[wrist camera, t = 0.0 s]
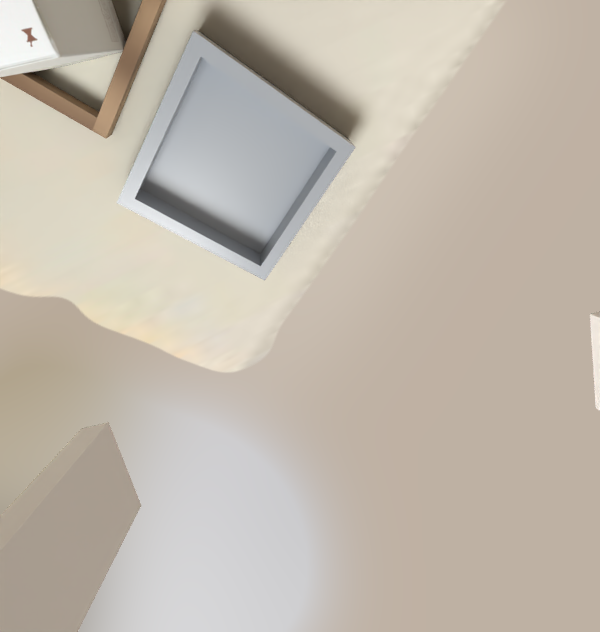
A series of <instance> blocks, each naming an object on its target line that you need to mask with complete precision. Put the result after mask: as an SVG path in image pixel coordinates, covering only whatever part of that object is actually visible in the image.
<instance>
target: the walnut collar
mask: <svg viewBox="0 0 600 632" xmlns="http://www.w3.org/2000/svg"><path fill="white" fill-rule="evenodd" d="M165 3H166V0H142V3H141V5H140V8H139V10H138V13H137V16H136V18H135V21H134V23H133V26H132V29H131V31H130V34H129V36H128V39H127V42H126V44H125V47H124V49H123V52H122V55H121V57H120V60H119V62H118V65H117V68H116V70H115V73H114V75H113V78H112V81H111V83H110V86H109V88H108V91H107V94H106V96H105V99H104V101H103V104H102V107H101V109H100V112H98V111H97V110H95V109H93V108H91V107H90V106H88V105H86V104H85V103H83V102H81V101H80V100H78V99H76V98H75V97H73V96H71V95H70V94H68V93H66V92H64V91H63V90H61V89H59V88H58V87H56V86H54V85H53V84H51V83H49V82H48V81H46V80H44V79H43V78H41V77H39V76H37V75H36V74H34V73H32V72H28V73H21V74H16V75H10V76H4V77H0V78H1V79H3V80H5V81H7V82H8V83H10V84H12V85H14V86H15V87H17V88H19V89H21V90H22V91H24V92H26V93H28V94H29V95H31V96H33V97H35V98H36V99H38V100H40V101H42V102H43V103H45V104H47V105H49V106H50V107H52V108H54V109H55V110H57V111H59V112H61V113H62V114H64V115H66V116H68V117H69V118H71V119H73V120H75V121H76V122H78V123H80V124H82V125H83V126H85V127H87V128H89V129H90V130H92V131H94V132H96V133H97V134H99V135H101V136H103V137H104V138H108V137H109V136H110V135H112V133H113V130H114V128H115V125H116V123H117V120H118V118H119V116H120V113H121V111H122V108H123V106H124V103H125V101H126V98H127V96H128V93H129V91H130V89H131V86H132V84H133V81H134V79H135V76H136V74H137V71H138V69H139V66H140V64H141V62H142V59H143V57H144V54H145V52H146V49H147V47H148V44H149V42H150V39H151V37H152V35H153V32H154V30H155V27H156V25H157V22H158V20H159V17H160V15H161V12H162V10H163V7H164V5H165Z"/></svg>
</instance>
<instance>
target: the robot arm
mask: <svg viewBox="0 0 600 632" xmlns="http://www.w3.org/2000/svg"><path fill="white" fill-rule="evenodd" d="M590 324H591V340H592V355H593V370H594V387H595V403H596V408H597V409H598V410H600V312H596V313H592V314H590ZM140 507H141V504H140V501H139V499H138V496H137V494H136V491H135V489H134V486H133V483H132V481H131V478H130V476H129V473H128V471H127V468H126V466H125V463H124V460H123V458H122V455H121V453H120V450H119V448H118V445H117V443H116V440H115V438H114V435H113V432H112V430H111V427H110V425H109V423H103V424H98V425H94V426H90V427H85V428H82V429H81V430H80V431H79V432H78V433H77V434H76V435H75V436H74V437H73V438H72V439H71V441H70V442H69V443H68V444H67V445H66V446H65V447H64V448H63V449H62V450H61V451H60V452H59V453H58V454H57V456H56V457H55V458H54V459H53V460H52V461H51V462H50V463H49V464H48V465H47V466H46V467H45V469H44V470H43V471H42V472H41V473H40V474H39V475H38V476H37V477H36V478H35V479H34V480H33V481H32V482H31V483H30V484H29V486H28V487H27V488H26V489H25V490H24V491H23V492H22V493H21V494H20V495H19V496H18V497H17V498H16V499H15V501H14V502H13V503H12V504H11V505H10V506H9V507H8V508H7V509H6V510H5V511H4V512H3V513H2V515H1V516H0V632H78V630H79V628H80V626H81V624H82V622H83V620H84V618H85V616H86V614H87V612H88V610H89V608H90V606H91V604H92V602H93V600H94V598H95V596H96V594H97V592H98V590H99V588H100V586H101V584H102V582H103V580H104V578H105V576H106V574H107V572H108V570H109V568H110V566H111V564H112V562H113V560H114V558H115V556H116V554H117V552H118V550H119V548H120V546H121V545H122V542H123V541H124V539H125V536H126V535H127V533H128V530H129V529H130V526H131V524H132V523H133V521H134V519H135V517H136V514H137V513H138V511H139V509H140Z"/></svg>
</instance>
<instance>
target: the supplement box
mask: <svg viewBox="0 0 600 632" xmlns="http://www.w3.org/2000/svg"><path fill="white" fill-rule="evenodd" d="M125 44H126V41H125V38H124V35H123V32H122V29H121V26H120V23H119V20H118V18H117V15H116V12H115V9H114V6H113V3H112V0H0V77H4V76H10V75H16V74H21V73H28V72H34V71H41V70H46V69H52V68H57V67H62V66H67V65H71V64H76V63H80V62H84V61H88V60H92V59H96V58H100V57H104V56H107V55H111V54H115V53H119V52H123V49H124V47H125Z"/></svg>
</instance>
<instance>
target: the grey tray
mask: <svg viewBox="0 0 600 632" xmlns="http://www.w3.org/2000/svg"><path fill="white" fill-rule="evenodd" d="M354 149H355V146H354V145H353V144H352V143H351V141H350V140H349V139H348V138H346V137H345V136H344V135H342V134H341V133H339V132H338V131H337V130H335V129H334V128H332V127H331V126H330V125H328V124H327V123H326V122H324V121H323V120H321V119H320V118H319V117H317V116H316V115H314V114H313V113H312V112H310V111H309V110H308V109H306V108H305V107H303V106H302V105H301V104H299V103H298V102H296V101H295V100H294V99H292V98H291V97H289V96H288V95H287V94H285V93H284V92H283V91H281V90H280V89H278V88H277V87H276V86H274V85H273V84H271V83H270V82H269V81H267V80H266V79H265V78H263V77H262V76H260V75H259V74H258V73H256V72H255V71H253V70H252V69H251V68H249V67H248V66H246V65H245V64H244V63H242V62H241V61H240V60H238V59H237V58H235V57H234V56H233V55H231V54H230V53H228V52H227V51H226V50H224V49H223V48H222V47H220V46H219V45H217V44H216V43H215V42H213V41H212V40H210V39H209V38H208V37H206V36H205V35H204V34H202V33H201V32H199V31H193V33H192V35H191V37H190V39H189V42H188V44H187V46H186V48H185V51H184V53H183V55H182V57H181V60H180V62H179V64H178V66H177V69H176V71H175V73H174V75H173V78H172V80H171V82H170V84H169V86H168V89H167V91H166V93H165V95H164V98H163V100H162V102H161V104H160V107H159V109H158V111H157V113H156V116H155V118H154V120H153V122H152V125H151V127H150V129H149V131H148V134H147V136H146V138H145V140H144V143H143V145H142V147H141V149H140V152H139V154H138V156H137V158H136V161H135V163H134V165H133V167H132V170H131V172H130V174H129V176H128V179H127V181H126V183H125V185H124V188H123V190H122V192H121V194H120V196H119V199H118V201H117V203H118V204H119V205H121V206H123V207H125V208H127V209H129V210H131V211H133V212H135V213H137V214H139V215H141V216H142V217H144V218H146V219H148V220H150V221H152V222H154V223H156V224H158V225H160V226H162V227H163V228H165V229H167V230H169V231H171V232H173V233H175V234H177V235H179V236H181V237H183V238H184V239H186V240H188V241H190V242H192V243H194V244H196V245H198V246H200V247H202V248H204V249H205V250H207V251H209V252H211V253H213V254H215V255H217V256H219V257H221V258H223V259H225V260H226V261H228V262H230V263H232V264H234V265H236V266H238V267H240V268H242V269H244V270H246V271H248V272H249V273H251V274H253V275H255V276H257V277H259V278H261V279H263V280H266V278H267V277H268V275H269V274H270V272H271V271H272V269H273V268H274V266H275V265H276V263H277V262H278V260H279V259H280V257H281V256H282V255H283V253H284V252H285V250H286V249H287V247H288V246H289V244H290V243H291V241H292V240H293V238H294V237H295V235H296V234H297V232H298V231H299V230H300V228H301V227H302V225H303V224H304V222H305V221H306V219H307V218H308V216H309V215H310V213H311V212H312V210H313V209H314V207H315V206H316V205H317V203H318V202H319V200H320V199H321V197H322V196H323V194H324V193H325V191H326V190H327V188H328V187H329V185H330V184H331V182H332V181H333V180H334V178H335V177H336V175H337V174H338V172H339V171H340V169H341V168H342V166H343V165H344V163H345V162H346V160H347V159H348V157H349V156H350V155H351V153H352V152H353V150H354Z"/></svg>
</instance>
